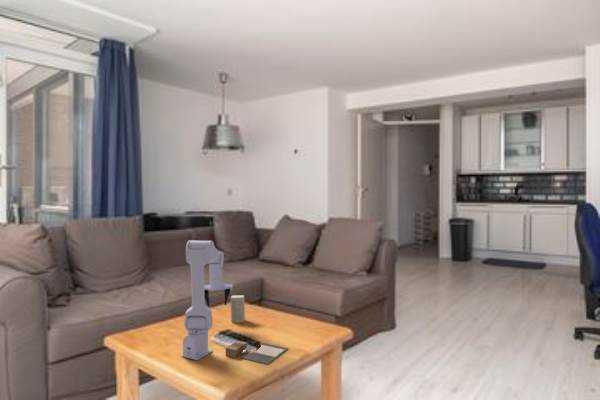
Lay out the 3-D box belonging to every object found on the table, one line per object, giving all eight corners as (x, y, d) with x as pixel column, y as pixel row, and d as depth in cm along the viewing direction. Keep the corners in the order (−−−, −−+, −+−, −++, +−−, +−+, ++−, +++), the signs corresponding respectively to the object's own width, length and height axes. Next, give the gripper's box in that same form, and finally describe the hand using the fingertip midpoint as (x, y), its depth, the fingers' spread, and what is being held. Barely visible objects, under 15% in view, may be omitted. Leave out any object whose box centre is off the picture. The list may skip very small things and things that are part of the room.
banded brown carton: (235, 359, 155) (235, 349, 155) (225, 356, 157) (225, 347, 157) (247, 351, 162) (247, 342, 162) (237, 349, 164) (237, 340, 164)
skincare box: (244, 319, 199) (245, 294, 198) (243, 322, 194) (244, 297, 194) (231, 319, 198) (231, 294, 198) (230, 322, 194) (230, 297, 194)
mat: (267, 364, 150) (267, 363, 150) (240, 358, 155) (240, 357, 155) (288, 349, 164) (288, 348, 164) (262, 343, 169) (262, 342, 169)
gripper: (232, 273, 190) (233, 300, 192) (200, 274, 188) (201, 302, 190) (232, 278, 183) (232, 306, 185) (199, 279, 181) (200, 308, 183)
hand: (217, 304), depth 187 cm, fingers open, 7 cm apart
